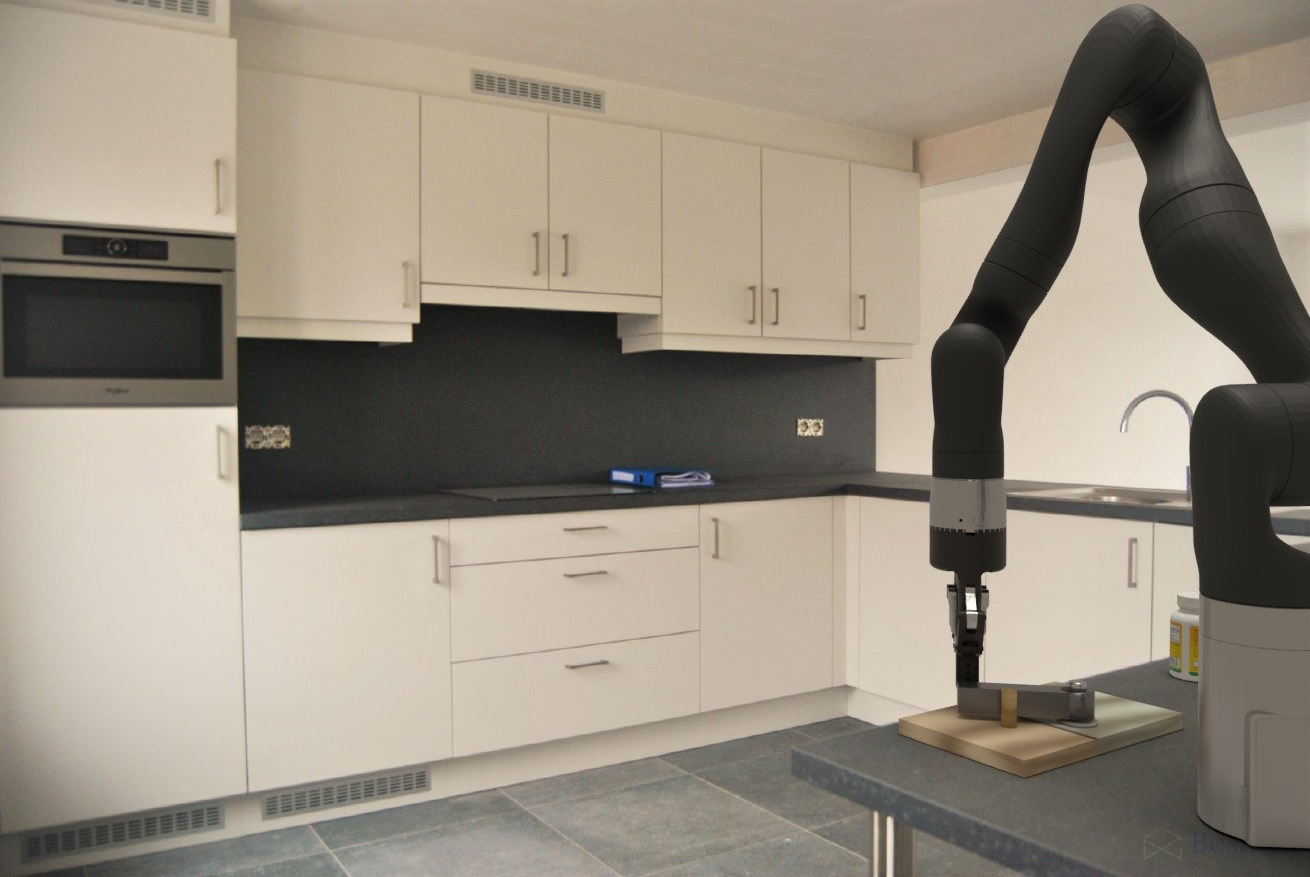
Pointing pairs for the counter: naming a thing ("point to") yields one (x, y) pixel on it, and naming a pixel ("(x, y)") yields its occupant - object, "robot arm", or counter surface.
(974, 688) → the lock bar
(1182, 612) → the supplement bottle
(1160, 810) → the counter surface
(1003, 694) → the lock plate
